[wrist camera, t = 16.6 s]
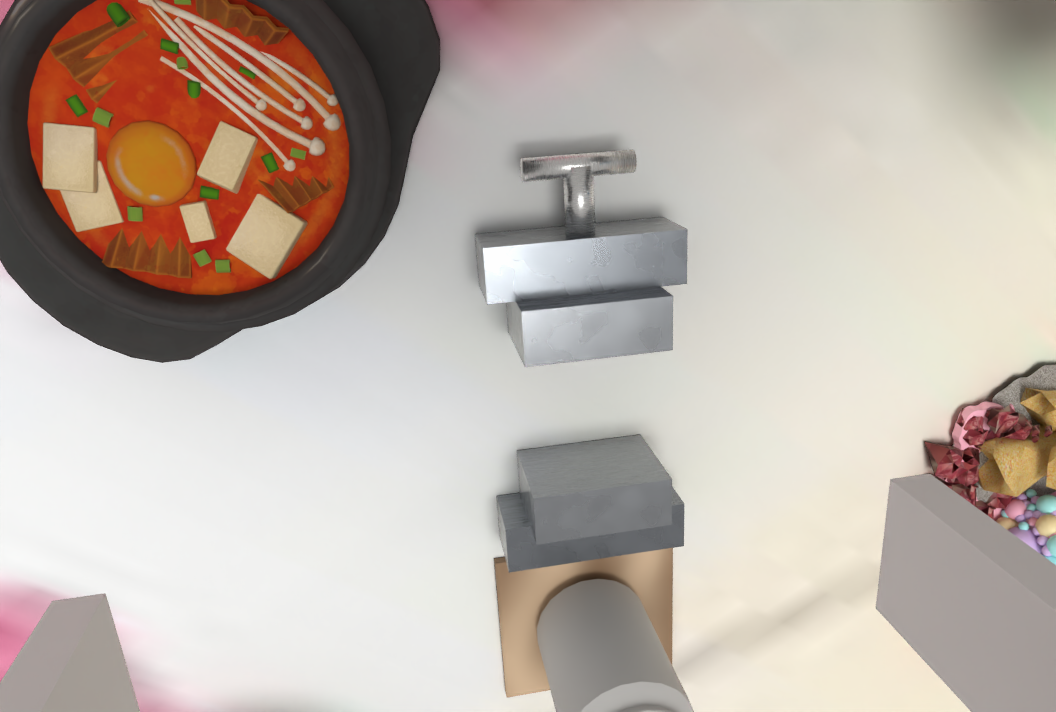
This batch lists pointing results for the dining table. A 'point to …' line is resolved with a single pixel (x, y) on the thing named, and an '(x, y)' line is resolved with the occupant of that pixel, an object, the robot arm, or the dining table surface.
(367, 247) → the casserole
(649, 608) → the mat
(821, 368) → the dining table surface
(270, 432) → the dining table surface
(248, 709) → the dining table surface
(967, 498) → the candy landscape model
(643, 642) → the can
